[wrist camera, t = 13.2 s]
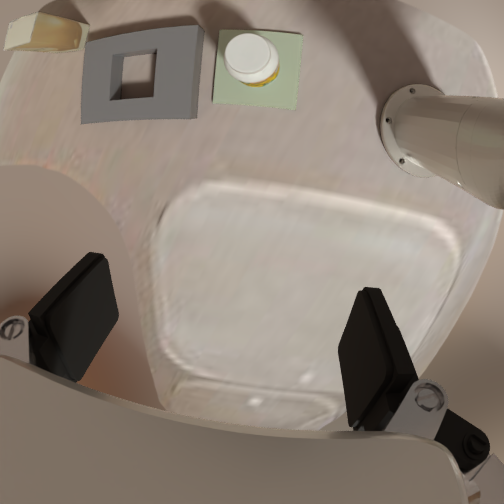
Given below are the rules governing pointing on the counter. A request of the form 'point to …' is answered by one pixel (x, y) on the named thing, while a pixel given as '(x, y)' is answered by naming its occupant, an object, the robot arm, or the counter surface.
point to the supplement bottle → (252, 60)
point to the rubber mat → (271, 95)
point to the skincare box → (46, 34)
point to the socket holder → (166, 75)
